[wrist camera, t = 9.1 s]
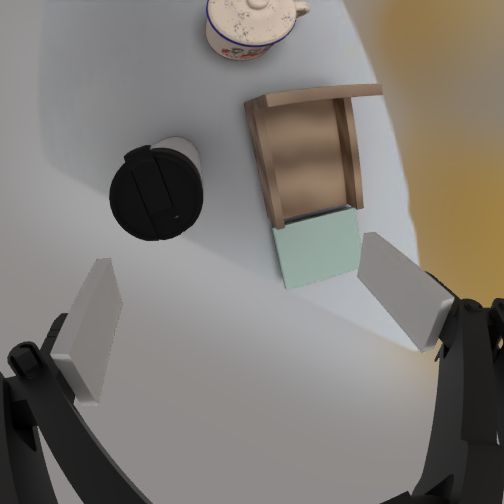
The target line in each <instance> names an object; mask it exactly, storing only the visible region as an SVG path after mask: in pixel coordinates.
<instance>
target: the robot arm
mask: <svg viewBox="0 0 504 504" xmlns="http://www.w3.org/2000/svg"><path fill="white" fill-rule="evenodd" d="M357 277H358V278H359V279H360V281H361V282H362V283H363V284H364V285H365V286H366V287H367V288H368V290H369V291H370V292H371V293H372V294H373V295H374V296H375V298H376V299H377V300H378V301H379V302H380V303H381V305H382V306H383V307H384V308H385V309H386V310H387V312H388V313H389V314H390V315H391V316H392V317H393V319H394V320H395V321H396V322H397V323H398V325H399V326H400V327H401V328H402V329H403V331H404V332H405V333H406V334H407V335H408V337H409V338H410V339H411V340H412V342H413V343H414V344H415V345H416V346H417V348H418V349H419V350H420V351H421V353H423V352H426V351H428V350H431V349H433V348H434V347H435V345H436V343H437V340H438V338H439V339H440V340H441V341H442V342H443V343H442V345H441V348H440V350H439V352H438V354H437V356H436V358H435V362H436V361H437V359H438V358H439V357H440V361H439V362H440V363H439V375H438V376H439V377H438V387H437V396H436V404H435V412H434V419H433V425H432V431H431V437H430V442H429V447H428V452H427V456H426V461H425V466H424V470H423V473H422V476H421V479H420V480H419V482H418V484H417V485H416V487H415V489H414V491H413V493H412V495H411V496H410V494H409V492H408V491H407V492H404V493H402V494H400V495H398V496H396V497H394V498H392V499H390V500H387V501H385V502H383V503H381V504H502V499H503V491H504V299H501V298H496V299H494V301H493V303H492V306H491V308H483V307H482V306H481V304H480V303H478V302H477V301H475V300H472V299H462V300H461V299H459V297H457V296H456V295H455V294H454V293H453V292H452V291H451V290H450V289H448V288H447V287H446V286H444V284H443V283H441V282H440V281H439V280H438V279H437V278H435V277H434V276H433V275H432V274H430V273H428V272H426V271H424V270H422V269H421V268H420V267H419V266H418V265H416V264H415V263H414V262H413V261H411V260H410V259H409V258H408V257H407V256H405V255H404V254H403V253H402V252H400V251H399V250H398V249H397V248H395V247H394V246H393V245H392V244H390V243H389V242H388V241H386V240H385V239H384V238H383V237H381V236H380V235H379V234H377V233H376V232H370V233H364V236H363V244H362V250H361V257H360V263H359V270H358V275H357ZM122 305H123V302H122V299H121V296H120V292H119V288H118V286H117V282H116V278H115V274H114V270H113V266H112V262H111V258H103V259H97V260H96V261H95V263H94V265H93V267H92V269H91V270H90V272H89V274H88V276H87V278H86V279H85V281H84V283H83V285H82V287H81V289H80V291H79V293H78V295H77V297H76V299H75V301H74V303H73V305H72V307H71V309H70V311H69V313H62V314H61V315H59V317H57V318H56V320H54V322H53V324H52V326H51V328H50V331H49V332H48V334H47V338H45V340H44V343H43V345H42V347H41V349H40V350H39V349H38V347H37V345H36V344H35V343H33V342H30V341H29V342H23V343H20V344H18V345H17V346H15V347H14V348H13V349H12V350H11V351H10V353H9V355H8V357H7V359H8V364H9V365H10V367H11V368H12V370H13V371H14V373H15V374H16V376H13V377H9V378H5V377H4V376H3V374H2V373H1V372H0V504H58V502H57V499H56V496H55V493H54V490H53V487H52V484H51V481H50V477H49V474H48V471H47V467H46V463H45V459H44V455H43V452H42V447H41V443H40V438H39V433H38V428H37V426H39V428H40V431H41V432H42V435H43V436H44V439H45V440H46V442H47V444H48V446H49V448H50V449H51V452H52V454H53V455H54V457H55V459H56V461H57V462H58V464H59V466H60V468H61V469H62V471H63V472H64V474H65V476H66V477H67V479H68V481H69V482H70V484H71V485H72V487H73V488H74V490H75V491H76V493H77V494H78V496H79V497H80V499H81V500H82V501H83V503H84V504H153V503H152V502H151V501H150V500H149V499H148V498H147V497H146V496H145V495H144V494H143V493H142V492H141V491H140V490H139V489H138V488H137V487H136V486H135V484H134V483H133V482H132V481H131V480H130V479H129V478H128V477H127V476H126V474H125V473H124V472H123V471H122V470H121V469H120V467H119V466H118V465H117V464H116V463H115V461H114V460H113V459H112V458H111V456H110V455H109V454H108V453H107V451H106V450H105V449H104V447H103V446H102V445H101V444H100V442H99V441H98V439H97V438H96V437H95V435H94V434H93V432H92V431H91V430H90V428H89V427H88V425H87V424H86V423H85V421H84V419H83V418H82V416H81V415H80V413H79V412H78V410H77V409H76V408H75V406H74V405H73V403H74V399H75V396H76V398H77V399H78V401H79V402H80V404H81V405H92V406H99V401H100V397H101V392H102V387H103V382H104V377H105V373H106V368H107V364H108V359H109V355H110V351H111V347H112V343H113V339H114V335H115V331H116V327H117V324H118V320H119V316H120V312H121V309H122ZM501 339H503V346H502V347H501V349H500V348H499V346H498V344H499V342H500V341H501ZM497 434H498V439H499V444H500V445H498V444H497Z"/></svg>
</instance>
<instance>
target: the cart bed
mask: <svg viewBox="0 0 504 504" xmlns="http://www.w3.org/2000/svg"><path fill="white" fill-rule="evenodd" d="M374 95H383V92H382V86H381V84H357V85H340V86H327V87H317V88H307V89H299V90H291V91H284V92H277V93H270V94H265V95H262V96H260V97H257V98H255V99H252V100H250V101H247V102H245V103H244V105H245V110H246V115H247V119H248V124H249V128H250V133H251V138H252V142H253V147H254V152H255V157H256V161H257V166H258V171H259V176H260V181H261V186H262V191H263V196H264V201H265V206H266V211H267V216H268V218H269V220H270V221H271V222H272V224H273V225H274V226H275V228H276V229H277V230H280V229H284V228H285V224H284V219H286V218H290V217H294V216H298V215H302V214H306V213H310V212H314V211H318V210H322V209H326V208H330V207H334V206H338V205H342V204H346V203H347V204H349V205H350V206H352V207H354V208H355V209H357V210H358V209H362V208H364V206H363V193H362V181H361V170H360V161H359V152H358V144H357V136H356V129H355V122H354V116H353V109H352V103H351V97H358V96H374Z"/></svg>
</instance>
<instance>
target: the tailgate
mask: <svg viewBox="0 0 504 504" xmlns="http://www.w3.org/2000/svg"><path fill="white" fill-rule="evenodd" d="M272 231H273V235H274V240H275V244H276V249H277V253H278V258H279V263H280V267H281V272H282V277H283V281H284V286H285V289H286V290H290V289H294V288H297V287H301V286H304V285H307V284H311V283H314V282H317V281H320V280H324V279H327V278H330V277H333V276H337V275H340V274H343V273H346V272H349V271H352V270H356V269H359V263H360V257H361V247H360V239H359V231H358V224H357V217H356V210H355V208H354V207H349V208H345V209H341V210H337V211H333V212H329V213H325V214H321V215H317V216H313V217H309V218H305V219H301V220H297V221H293V222H289V223H286V224H285V228H284V229H280V230H277V229H276V228H275V226H274V227H272Z"/></svg>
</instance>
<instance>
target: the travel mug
mask: <svg viewBox="0 0 504 504" xmlns="http://www.w3.org/2000/svg"><path fill="white" fill-rule="evenodd" d="M124 160H125V163H124V164H123V165H122V166H121V167H120V169H119V170H118V171H117V172H116V174H115V176H114V178H113V180H112V183H111V187H110V194H109V200H110V207H111V210H112V213H113V215H114V217H115V219H116V220H117V222H118V223H119V225H120V226H121V227H122V228H123V229H124V230H125V231H127V232H128V233H129V234H131V235H133V236H135V237H136V238H139V239H142V240H145V241H159V240H167V239H171V238H174V237H176V236H178V235H180V234H181V233H182V232H183V231H186V230H187V229H188V228H190V227H191V226H192V225H193V224H194V223H195V221H196V220H197V218H198V217H199V214H200V212H201V209H202V204H203V180H202V173H201V165H200V157H199V153H198V150H197V148H196V147H195V146H194V144H193V143H192V142H190V141H189V140H187V139H185V138H182V137H170V138H166V139H164V140H162V141H160V142H158V143H156V144H154V145H153V146H151V145H145V146H142V147H139V148H136V149H134V150H132V151H130V152H129V153H127V154H126V155H125V156H124Z"/></svg>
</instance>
